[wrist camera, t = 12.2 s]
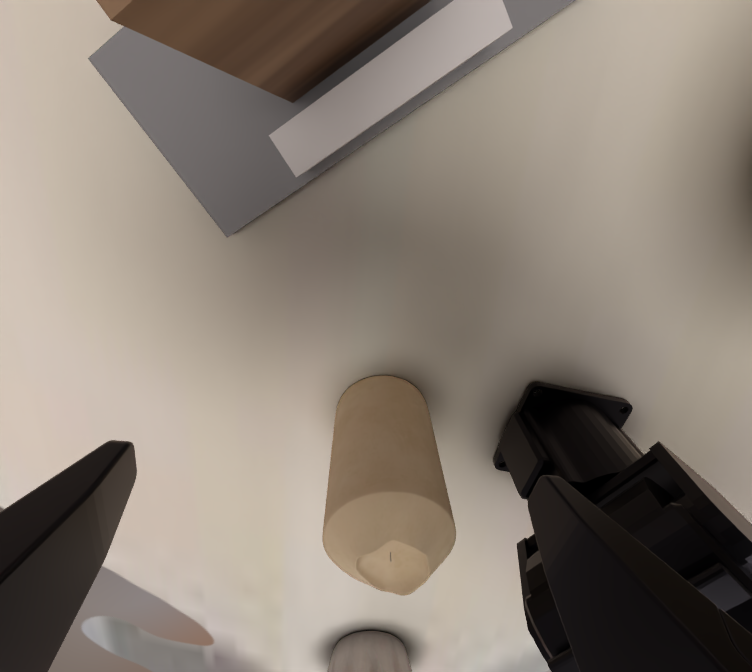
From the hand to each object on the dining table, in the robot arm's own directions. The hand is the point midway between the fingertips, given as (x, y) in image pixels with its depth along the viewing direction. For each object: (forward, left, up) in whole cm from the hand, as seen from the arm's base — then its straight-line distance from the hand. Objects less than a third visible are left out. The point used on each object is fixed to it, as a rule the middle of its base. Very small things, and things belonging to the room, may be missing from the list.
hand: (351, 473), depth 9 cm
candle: (-3, +8, -13) cm, 16 cm away
